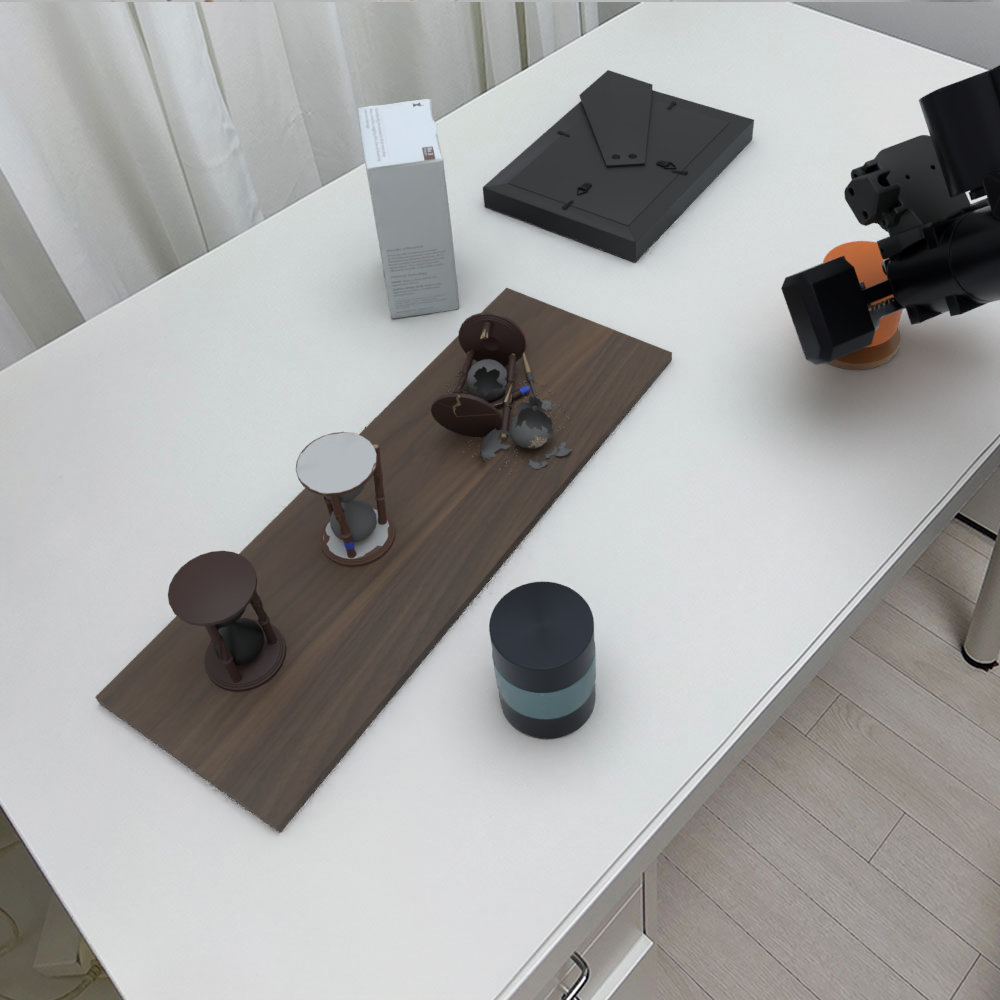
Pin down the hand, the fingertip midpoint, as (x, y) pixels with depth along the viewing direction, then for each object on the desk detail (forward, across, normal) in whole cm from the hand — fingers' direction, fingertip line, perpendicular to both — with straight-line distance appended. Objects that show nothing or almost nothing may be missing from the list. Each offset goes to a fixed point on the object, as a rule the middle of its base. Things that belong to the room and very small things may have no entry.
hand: (847, 294), depth 83 cm
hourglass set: (+2, +36, +3) cm, 37 cm away
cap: (0, 0, +2) cm, 2 cm away
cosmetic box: (+18, +26, -13) cm, 34 cm away
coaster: (+1, 0, +3) cm, 4 cm away
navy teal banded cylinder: (-10, +35, +15) cm, 39 cm away
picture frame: (+22, +4, -16) cm, 27 cm away
